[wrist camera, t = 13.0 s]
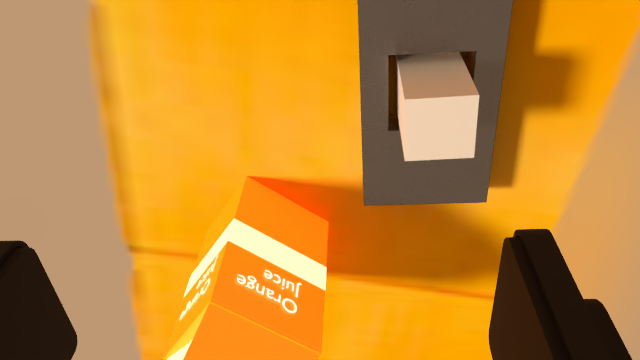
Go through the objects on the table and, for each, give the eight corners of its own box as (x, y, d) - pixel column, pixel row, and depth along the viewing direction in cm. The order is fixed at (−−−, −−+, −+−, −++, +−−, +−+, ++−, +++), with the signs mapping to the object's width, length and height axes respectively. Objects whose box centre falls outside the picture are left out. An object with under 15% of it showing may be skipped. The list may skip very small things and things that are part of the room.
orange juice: (246, 174, 46) (188, 373, 30) (330, 221, 48) (319, 428, 32) (206, 230, 50) (134, 433, 33) (285, 271, 52) (255, 479, 36)
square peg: (395, 52, 39) (404, 99, 33) (457, 47, 39) (479, 95, 32) (396, 107, 42) (404, 161, 35) (454, 103, 41) (474, 157, 35)
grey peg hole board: (356, -59, 35) (356, -51, 33) (511, -69, 34) (521, -62, 32) (363, 188, 46) (363, 205, 44) (480, 184, 45) (486, 202, 43)
